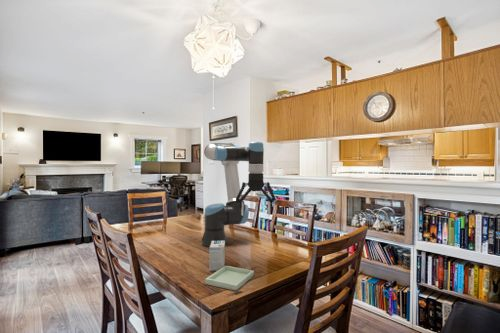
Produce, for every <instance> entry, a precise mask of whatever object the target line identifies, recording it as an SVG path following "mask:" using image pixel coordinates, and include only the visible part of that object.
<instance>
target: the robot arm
mask: <svg viewBox="0 0 500 333" xmlns="http://www.w3.org/2000/svg"><path fill="white" fill-rule="evenodd" d="M264 151H265V148H264V143H263V142H261V141H251V142H249V143H248V146H240V145H238V144H237V143H232V142H231V143H229V142H228V143H225V142H224V143H223V142H222V143H221V142H214V143H210V144H207V145H206V146H205V147H204V151H203V154H204V157H205V158H207V159H208V160H211V161H217V162H221V165H222V166H223V168H224V175H225V176H224V177H225V185H226V194H227V195H226V196H227V202H225V204H224V203H213V204H208V205H207V206H206V207H205V208H204V232H203V235H202V238H201V245H202V246H203V247H208V248H209V247H210V245H211V241H223V240H224V241H225V246H226V245H227V244H228V238H227V235H226V234H227V233H226V232H225V226H231V225H239V226H240V225H243V224H246V223H247V221H248V219H249V212H250V210H249V206H248V204H245V199H246V197H247V196H248V195H249V194H250V193H251V192H261V193H262V194H263V195H264V196H265V197H266V198H267V199H268V201H267V215H269V216H271V209H273V202H274V201H276V200H277V198H276V197H275V194H274V192H273V190H272V188H271V183H270V182H268V181H266V182H264ZM240 162H248V178H247V180H248V181H247V182H243V181H242V184H241V186H240V183H241V182H240V176H239V170H238V164H239V163H240ZM246 187H248V188H247V190H246V191H245V192H244V190H245V188H246ZM264 187H265V188H266V189H267V190H268V193H269V194H268V193H267V192H266V191H265V189H264ZM243 192H244V193H243ZM242 194H243V195H242ZM269 195H270V196H271V197H270V196H269Z"/></svg>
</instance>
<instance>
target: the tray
mask: <svg viewBox="0 0 500 333" xmlns="http://www.w3.org/2000/svg"><path fill="white" fill-rule="evenodd" d="M254 276H255V270H254V269H253V270H251V269H247V268H241V267H236V266H235V267H234V266H230V265H224V267H223V268H221V269H220V270H218V271H215V272H214V273H212V274H210V275H209V276H207V277H206V278H205V281H204V282H205V283H204V284H205V285H210V286H212V287H213V286H214V287H218V288H222V289H227V290H231V291H234V292H235V291H236V292H237V291H238V290H239V289H240V288H242V286H244V285H245V284H246V283H247V282H248V281H249V280H250V279H252V278H253V277H254Z"/></svg>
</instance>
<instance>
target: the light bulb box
mask: <svg viewBox="0 0 500 333" xmlns="http://www.w3.org/2000/svg"><path fill="white" fill-rule="evenodd" d="M208 248H209V251H208V253H209V254H208V256H209V259H208V260H209V262H208V263H209V264H208V265H209V268H208V271H210V272H211V271H215V272H217V271H218V270H220V269H221V268H223V267H224V266H225V262H226V260H225V258H226V254H225V253H226V251H225V250H226V245H225V241H224V240H223V241H211V245H210V247H208Z"/></svg>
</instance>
